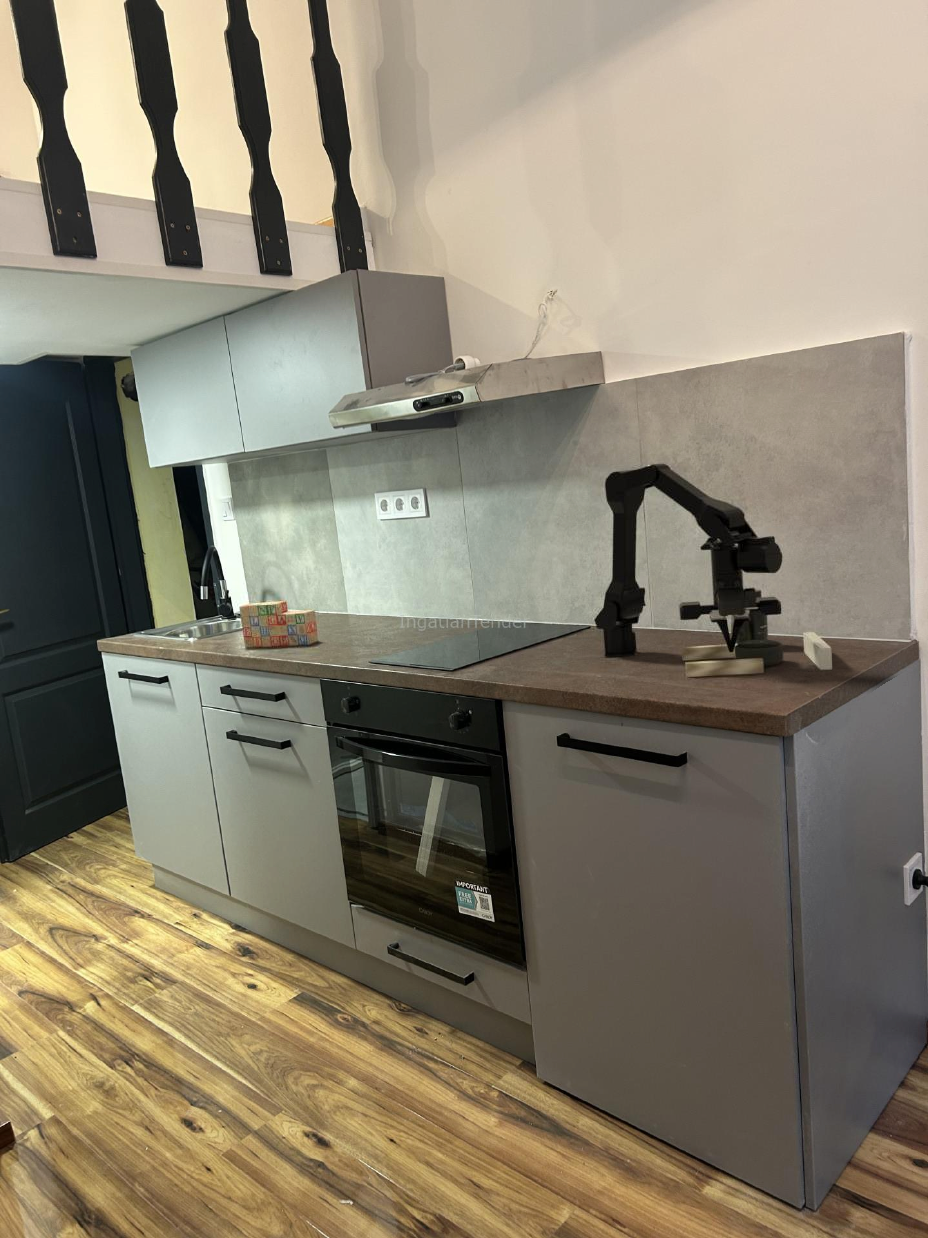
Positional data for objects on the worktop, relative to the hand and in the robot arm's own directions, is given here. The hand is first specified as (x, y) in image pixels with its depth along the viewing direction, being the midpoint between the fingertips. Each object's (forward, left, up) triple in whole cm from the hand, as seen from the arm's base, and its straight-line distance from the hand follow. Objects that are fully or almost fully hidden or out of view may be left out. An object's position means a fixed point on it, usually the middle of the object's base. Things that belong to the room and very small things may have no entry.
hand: (731, 651), depth 177 cm
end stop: (+16, 0, -3) cm, 16 cm away
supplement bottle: (+6, +18, -3) cm, 19 cm away
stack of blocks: (-120, +63, -3) cm, 135 cm away
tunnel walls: (-2, 0, -3) cm, 3 cm away
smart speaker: (+5, 0, -3) cm, 6 cm away
